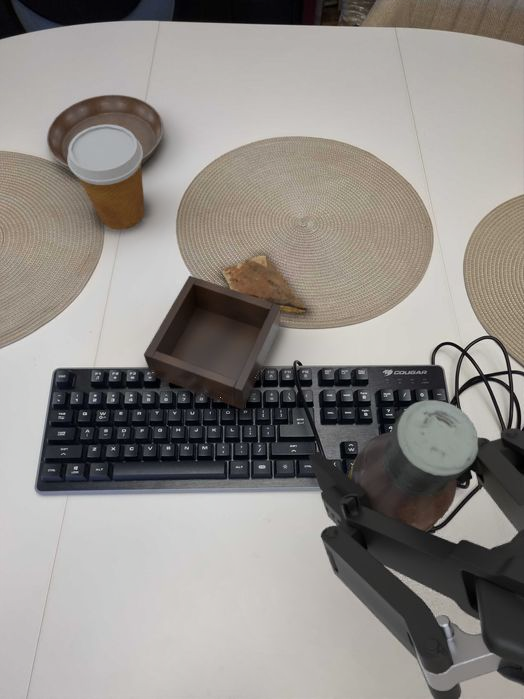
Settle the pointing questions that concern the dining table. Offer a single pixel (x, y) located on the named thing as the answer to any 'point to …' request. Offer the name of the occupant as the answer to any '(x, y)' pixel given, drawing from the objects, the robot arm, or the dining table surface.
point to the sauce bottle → (417, 463)
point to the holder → (214, 341)
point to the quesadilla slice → (263, 283)
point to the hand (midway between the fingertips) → (361, 448)
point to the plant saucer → (106, 122)
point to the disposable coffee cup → (110, 173)
